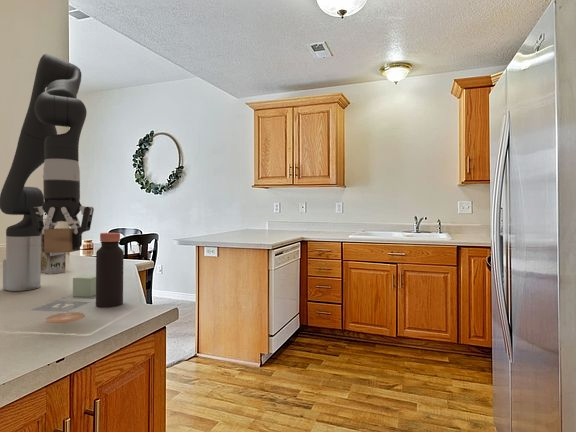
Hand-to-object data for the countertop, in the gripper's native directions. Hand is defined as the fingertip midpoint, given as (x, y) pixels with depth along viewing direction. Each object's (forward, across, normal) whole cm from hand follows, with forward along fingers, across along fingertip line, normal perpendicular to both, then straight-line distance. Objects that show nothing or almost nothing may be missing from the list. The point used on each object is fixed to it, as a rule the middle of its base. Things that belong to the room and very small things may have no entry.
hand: (62, 249), depth 89 cm
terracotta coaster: (+17, -1, 0) cm, 17 cm away
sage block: (+16, +5, -24) cm, 29 cm away
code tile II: (+16, +5, -24) cm, 29 cm away
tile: (+16, +6, -11) cm, 20 cm away
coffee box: (+15, +36, -66) cm, 77 cm away
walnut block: (0, 0, 0) cm, 0 cm away
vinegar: (+17, -6, -12) cm, 22 cm away
